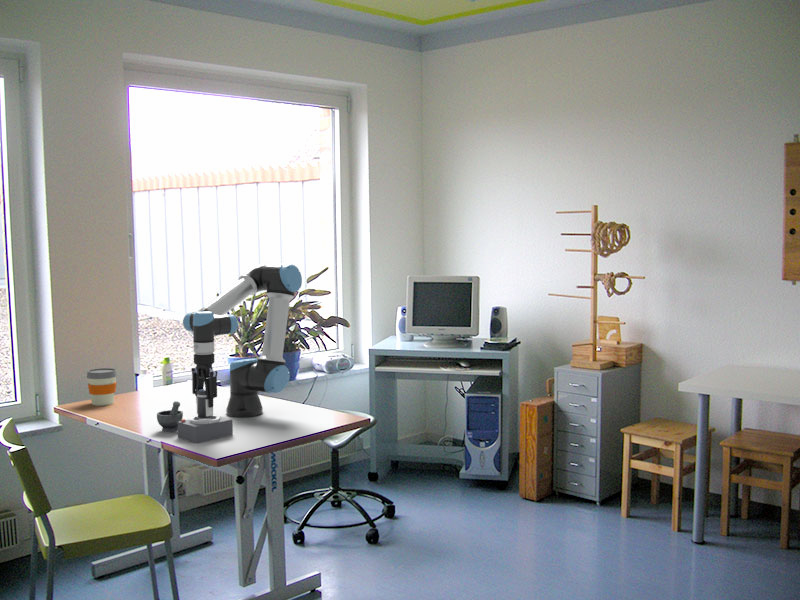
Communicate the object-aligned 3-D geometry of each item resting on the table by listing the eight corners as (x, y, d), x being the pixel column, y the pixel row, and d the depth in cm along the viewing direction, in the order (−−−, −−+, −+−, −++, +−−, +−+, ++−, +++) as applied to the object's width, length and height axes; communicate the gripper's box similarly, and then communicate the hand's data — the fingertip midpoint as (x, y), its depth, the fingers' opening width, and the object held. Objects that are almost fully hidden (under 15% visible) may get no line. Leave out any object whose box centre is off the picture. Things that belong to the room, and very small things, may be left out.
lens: (206, 414, 291) (206, 387, 291) (215, 416, 288) (214, 389, 287) (194, 416, 287) (194, 389, 287) (202, 418, 284) (202, 391, 283)
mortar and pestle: (152, 430, 297) (152, 399, 296) (174, 426, 304) (173, 396, 303) (168, 435, 289) (167, 404, 288) (189, 431, 296) (189, 400, 295)
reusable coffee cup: (122, 400, 351) (121, 368, 350) (111, 406, 339) (110, 373, 337) (94, 400, 351) (93, 368, 350) (82, 406, 339) (81, 372, 338)
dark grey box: (214, 429, 298) (213, 411, 298) (232, 435, 290) (232, 416, 290) (177, 437, 286) (177, 419, 286) (196, 443, 278) (195, 424, 278)
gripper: (181, 351, 289) (182, 412, 291) (209, 356, 277) (210, 420, 279) (198, 349, 295) (199, 409, 296) (226, 354, 283) (227, 416, 284)
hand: (205, 414), depth 288 cm, fingers closed on lens, 5 cm apart
